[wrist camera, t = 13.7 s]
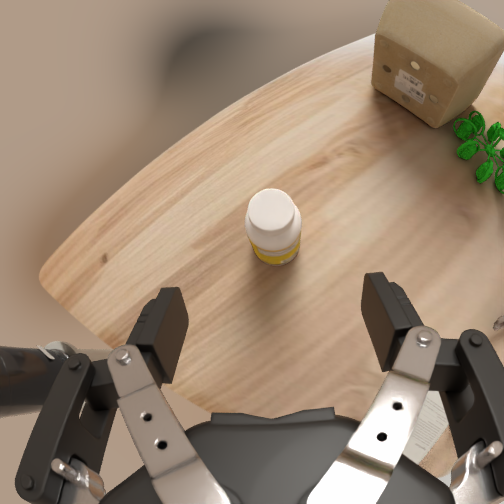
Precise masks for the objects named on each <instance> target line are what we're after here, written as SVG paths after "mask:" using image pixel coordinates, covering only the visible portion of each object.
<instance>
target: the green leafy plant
mask: <svg viewBox="0 0 504 504" xmlns="http://www.w3.org/2000/svg"><path fill="white" fill-rule="evenodd" d="M474 112H476V113H478V114H479V115H475V116H474V117H473V118H472V119H471V116H472V114H473V113H474ZM460 120H463V121H464V122H463V123H461V125H460V126H459V128H458V129H457V131H456V129H455V123H456V122H457V121H460ZM482 126H483V127H482ZM481 127H482V131H481V133H480V134H477V132H478V131H479V130H480V129H481ZM453 128H454V132H455V133H456V135H457V136H458V137H459V138H461V139H462V140H464V141H467V142H465V143H464V144H462V145H461V146H460V147H459V148H458V149H457V154H458V156H459V157H460V158H464V159H465V160H469V159H470V158H471V157H472V156H473V155H474V154H476V153H477V152H478V151H486V153H487V154H488V159H487V161H486V162H485V163H483V164H482V165H481V166H480V167H479V168H478V169H477V170H476V176H477V182H479V183H480V184H481V183H482V182H484V181H486V180H487V179H488V178H489V177H490V176H491V174H492V173H493V161H492V160H491V159H489V157H493V158H494V160H495V162H496V159H495V157H494V156H495V155H496V154H495V151H500V156H501V158H504V148H502V150H495V149H494V147H495V146H496V145H497V144H498V143H499V141H500V140H501V139H502V140H504V129H503V128H501V124H500V123H499V122H497V123H496V124H493V125H492V126H491V127H490V128H489V130H488V131H487V137H488V141H489V142H491V145H490V144H488V143H487V141H486V139H485V137H484V135H483V133H484V130H485V121H484V118H483V116H482V115H481V113H479V112H478V111H472V112H471V113H470V114H469V117H468V119H465V118H458V119H457V120H456V121H455V122H454V125H453ZM471 133H473V134H474V135H475V137H474V138H471V139H467V138H468V137H469V136H470V134H471ZM480 135H482V136H483V138H484V140H485V142H486V144H487V145H485V144H484V143H482V142H481V141H480V140H479V139H477V138H476V136H480ZM499 136H500V138H499V139H498V140H497V141H496V142H495V144H494V145H493V146H492V144H493V141H495V140H496V139H497V138H498V137H499ZM474 139H477V140H478V141H479V142H480V143H482V144H483V145H484V146H485V147H484V149H480V145H479V143H478V142H477V141H473V140H474ZM476 144H477V145H478V146H477V147H476ZM459 152H460V154H459ZM496 156H497V157H498V158H499V159H500V160H501V161H502V162H503V163H504V161H503V160H502V159H501V158H500V157H499V156H498V155H496ZM496 165H497V167H498V168H497V170H496V172H495V184H496V187H497V189H498V190H499V191H500V192H501V193H502V194H504V192H503V191H502V190H503V189H504V164H503V166H500V167H499V166H498V164H497V162H496ZM500 168H502V170H503V172H502V173H501V174H500V175H499V176H498V177H497V174H498V171H499V169H500Z"/></svg>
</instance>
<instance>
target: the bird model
mask: <svg viewBox="0 0 504 504" xmlns="http://www.w3.org/2000/svg"><path fill="white" fill-rule="evenodd" d="M503 327H504V316H501V317H499V318H498V320H497V321H496V322H495V323H494V327H493V329H494V330H498V329H501V328H503Z"/></svg>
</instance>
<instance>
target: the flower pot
mask: <svg viewBox="0 0 504 504" xmlns="http://www.w3.org/2000/svg"><path fill="white" fill-rule="evenodd" d="M503 51H504V30H503V29H501V28H500V27H499V26H497V25H496V24H494V23H493V22H492V21H490V20H489V19H487V18H486V17H484V16H483V15H481V14H480V13H478V12H476V11H475V10H473V9H472V8H470V7H468V6H467V5H465V4H463V3H462V2H460V1H458V0H389V1H388V3H387V5H386V7H385V10H384V12H383V14H382V17H381V20H380V23H379V26H378V28H377V31H376V35H375V45H374V59H373V70H372V80H371V83H372V85H373V87H374V88H375V89H377V90H379V91H380V92H382V93H383V94H385V95H387V96H388V97H390V98H391V99H393V100H394V101H396V102H397V103H399V104H400V105H402V106H403V107H405V108H406V109H408V110H409V111H410V112H412V113H413V114H415V115H416V116H417V117H419V118H420V119H422V120H423V121H424V122H426V123H427V124H428V125H430V126H431V127H433V128H438V127H440V126H442V125H444V124H446V123H447V122H449V121H451V120H452V119H454V118H455V117H457V116H458V115H460V114H461V113H462V112H463V111H465V110H466V109H467V108H468V107H469V106H470V105H471V104H472V103H473V102H474V101H475V100H476V99H477V97H478V96H479V94H480V92H481V91H482V89H483V87H484V85H485V84H486V82H487V80H488V78H489V76H490V75H491V73H492V71H493V69H494V67H495V66H496V64H497V62H498V60H499V58H500V57H501V55H502V53H503Z"/></svg>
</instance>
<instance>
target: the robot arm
mask: <svg viewBox="0 0 504 504" xmlns="http://www.w3.org/2000/svg"><path fill="white" fill-rule="evenodd" d="M361 311H362V316H363V319H364V321H365V324H366V327H367V329H368V332H369V335H370V338H371V341H372V343H373V346H374V349H375V352H376V355H377V358H378V361H379V364H380V367H381V370H382V372H386V371H389V372H388V374H387V376H386V378H385V380H384V382H383V384H382V386H381V388H380V390H379V392H378V394H377V395H376V397H375V399H374V401H373V403H372V405H371V406H370V408H369V410H368V412H367V413H366V415H365V417H364V418H363V420H362V422H359V421H357V420H355V419H352V418H349V417H345V416H340V415H335V412H334V407H328V408H320V409H310V410H302V411H299V412H296V413H292V414H289V415H285V416H282V417H278V418H274V419H269V418H264V417H258V416H253V415H248V414H243V413H212V414H211V421H206V422H203V423H200V424H197V425H195V426H193V427H191V428H189V429H187V430H186V431H185V430H184V429H183V427H182V426H181V424H180V422H179V421H178V419H177V417H176V416H175V414H174V412H173V411H172V409H171V407H170V406H169V404H168V402H167V400H166V399H165V397H164V395H163V393H162V392H161V390H160V389H161V386H162V383H168V384H172V381H173V377H174V374H175V370H176V367H177V363H178V360H179V356H180V353H181V349H182V346H183V343H184V339H185V336H186V332H187V329H188V324H189V319H188V313H187V310H186V307H185V303H184V300H183V297H182V293H181V290H180V288H179V287H166V288H161V290H160V292H159V294H158V296H157V298H156V299H152V300H150V301H149V302H148V303H147V304H146V305H145V306H144V308H143V310H142V312H141V314H140V316H139V318H138V320H137V323H136V324H135V326H134V328H133V330H132V332H131V334H130V336H129V338H128V340H127V342H126V344H125V345H122V346H119V347H117V348H115V349H114V350H113V351H112V352H111V353H110V354H109V356H108V359H104V360H99V361H93V362H91V360H90V359H89V357H88V356H87V355H86V354H82V353H78V354H74V355H72V356H69V355H68V354H67V353H66V352H64V351H62V350H59V349H50V350H49V349H44V348H43V347H41V346H37V347H38V348H39V349H32V348H17V347H6V346H0V418H3V417H10V416H17V415H24V414H31V413H37V412H40V414H39V416H38V419H37V421H36V423H35V426H34V428H33V430H32V433H31V436H30V438H29V441H28V443H27V446H26V449H25V451H24V454H23V457H22V459H21V462H20V465H19V468H18V472H17V475H16V478H15V487H16V491H17V493H18V494H19V496H20V497H21V498H22V499H24V500H26V501H28V502H29V503H31V504H499V503H501V502H502V501H504V367H503V365H502V363H501V361H500V359H499V357H498V355H497V353H496V352H495V350H494V348H493V346H492V344H491V343H490V341H489V339H488V338H487V336H486V335H485V334H484V333H482V332H480V331H478V330H475V329H468V330H465V331H464V332H463V333H462V334H461V336H460V338H459V339H444V338H440V335H439V334H438V333H437V332H436V331H435V330H434V329H432V328H430V327H427V326H424V325H423V323H422V321H421V319H420V317H419V316H418V314H417V312H416V310H415V309H414V307H413V305H412V304H411V302H410V300H409V298H407V295H406V293H405V292H404V290H403V288H401V287H400V286H399V285H397V284H396V283H395V282H390V283H389V282H388V280H387V278H386V277H385V275H384V273H383V272H376V273H366V274H365V276H364V283H363V292H362V300H361ZM428 391H438V392H439V395H440V398H441V401H442V404H443V407H444V410H445V413H446V416H447V420H448V423H449V426H450V430H451V433H452V437H453V441H454V445H455V448H456V452H457V457H458V460H457V461H456V462H455V463H454V465H453V467H452V471H451V484H450V487H448V486H447V485H446V484H444V483H443V482H442V481H440V480H439V479H437V478H436V477H434V476H433V475H432V474H430V473H429V472H427V471H426V470H425V469H423V468H422V467H420V466H419V465H418V464H416V463H415V462H413V461H412V460H411V459H409V458H408V457H407V456H405V455H404V454H403V453H402V452H403V450H404V448H405V446H406V444H407V442H408V440H409V437H410V435H411V433H412V431H413V428H414V426H415V424H416V421H417V419H418V417H419V414H420V412H421V409H422V406H423V404H424V401H425V398H426V396H427V393H428ZM84 401H85V402H86V403H85V406H84V408H83V411H82V414H81V417H80V419H79V413H80V410H81V408H82V405H83V403H84ZM117 408H120V411H121V413H122V416H123V418H124V421H125V423H126V426H127V428H128V430H129V432H130V435H131V437H132V439H133V442H134V444H135V446H136V448H137V450H138V452H139V455H140V457H141V459H142V461H143V463H144V465H143V466H142V467H141V468H140V469H138V470H137V471H136V472H135V473H133V474H132V475H131V476H130V477H128V478H127V479H126V480H124V481H123V482H122V483H120V484H119V485H118V486H116V487H115V488H114V489H112V490H111V491H109V492H108V493H107V494H106V491H105V489H104V483H103V480H102V478H101V477H100V475H99V472H100V468H101V465H102V461H103V457H104V452H105V449H106V445H107V441H108V438H109V434H110V431H111V427H112V424H113V420H114V417H115V414H116V411H117ZM105 494H106V495H105Z"/></svg>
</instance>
